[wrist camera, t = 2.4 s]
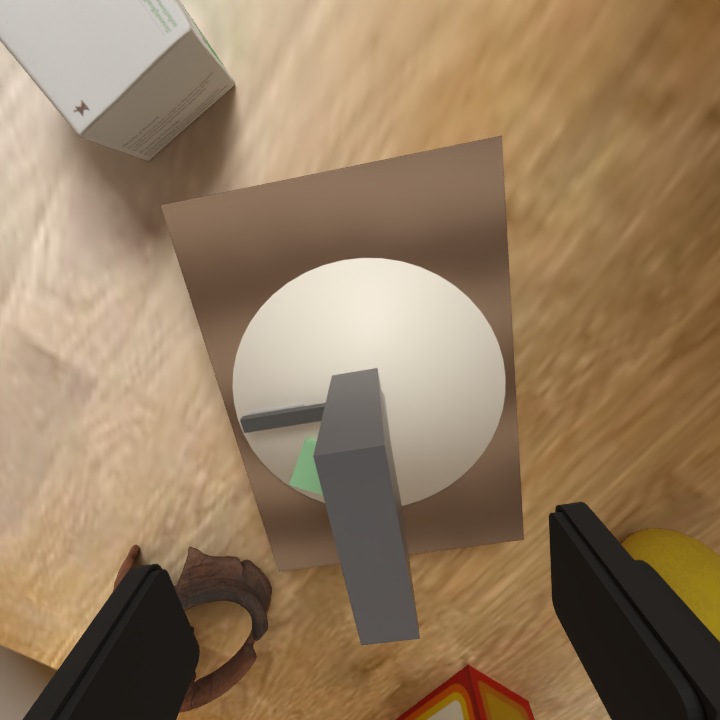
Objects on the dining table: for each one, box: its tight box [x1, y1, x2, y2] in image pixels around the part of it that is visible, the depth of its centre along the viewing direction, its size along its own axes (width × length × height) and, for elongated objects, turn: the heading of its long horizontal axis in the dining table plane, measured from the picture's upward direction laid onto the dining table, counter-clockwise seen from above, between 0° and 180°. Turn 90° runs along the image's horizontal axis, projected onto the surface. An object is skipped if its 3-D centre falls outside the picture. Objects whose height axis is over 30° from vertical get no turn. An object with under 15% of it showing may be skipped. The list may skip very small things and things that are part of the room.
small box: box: [0, 0, 235, 161], centre depth 14 cm, size 6×6×5 cm
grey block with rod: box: [240, 368, 420, 645], centre depth 14 cm, size 6×7×9 cm
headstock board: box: [160, 136, 524, 572], centre depth 20 cm, size 20×14×3 cm
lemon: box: [621, 528, 720, 641], centre depth 21 cm, size 6×6×8 cm
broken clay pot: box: [113, 545, 272, 712], centre depth 24 cm, size 12×10×8 cm
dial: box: [233, 258, 506, 506], centre depth 18 cm, size 13×13×1 cm
